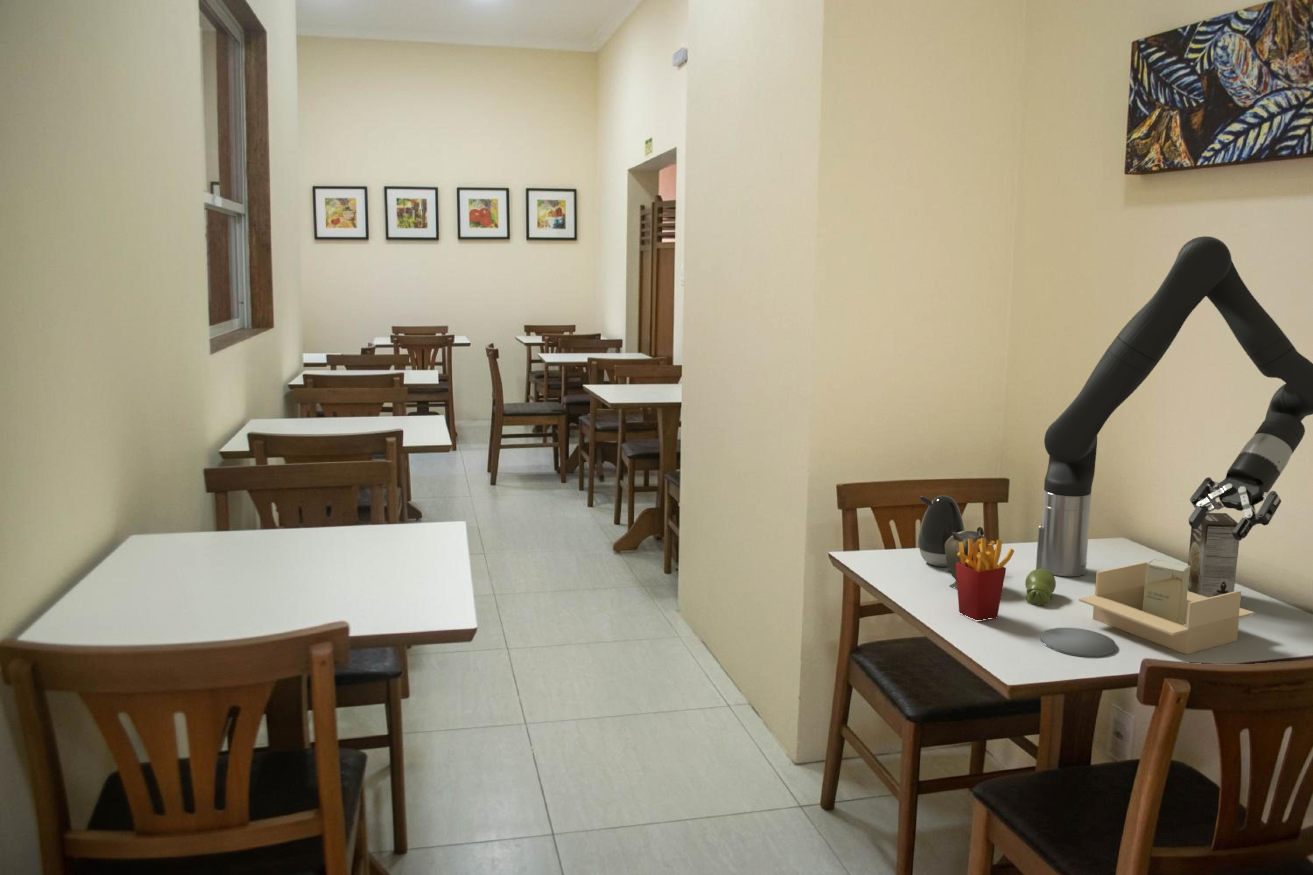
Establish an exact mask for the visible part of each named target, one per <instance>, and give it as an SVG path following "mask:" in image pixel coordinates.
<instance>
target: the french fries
mask: <svg viewBox="0 0 1313 875" xmlns="http://www.w3.org/2000/svg"><path fill="white" fill-rule="evenodd" d="M986 539H987V538H986V537H985V538H981V539H978V540H977V541H976V543H975V545H974V547H973V539H968V555H967V556H966V555H965V554H964V546H963V542H958V543H959V551H960V552H958V554H957V556H959V557H960V559H961V562H958V563H956V577H957V589H956V591H957V600H958V613H959V612H960V613H962V614H963V615H966V616H968V617H970V618H973V619H975V620H983V619H988V618H995V619H997V618H998V615H999V610H1000V604H1001V599H1002V593H1003V588H1004V582H1005V576H1006V570H1007V568H1006V567H1005V565H1007V564H1008V563H1009V561H1010V560H1011V559H1012V557H1013V555H1014V553H1015V550H1014V549H1013V548H1009V550H1008V552H1007V554H1006V556H1005V557H1004V558H1003V559H1002V561H1001V562H999V560H1000V558H1001V553H1002V548H1003V546H1002V545H1003V540H1001V539H996V541H995V540H990V541H989V542H990V543H989V544H988V547H987V549H986ZM980 542H981V544H980ZM995 544H996V545H995ZM994 545H995V547H994ZM978 547H980V552H978ZM972 554H973V560H971V559H972ZM985 558H986V560H985ZM963 615H962V616H963ZM996 617H997V618H996Z"/></svg>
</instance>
